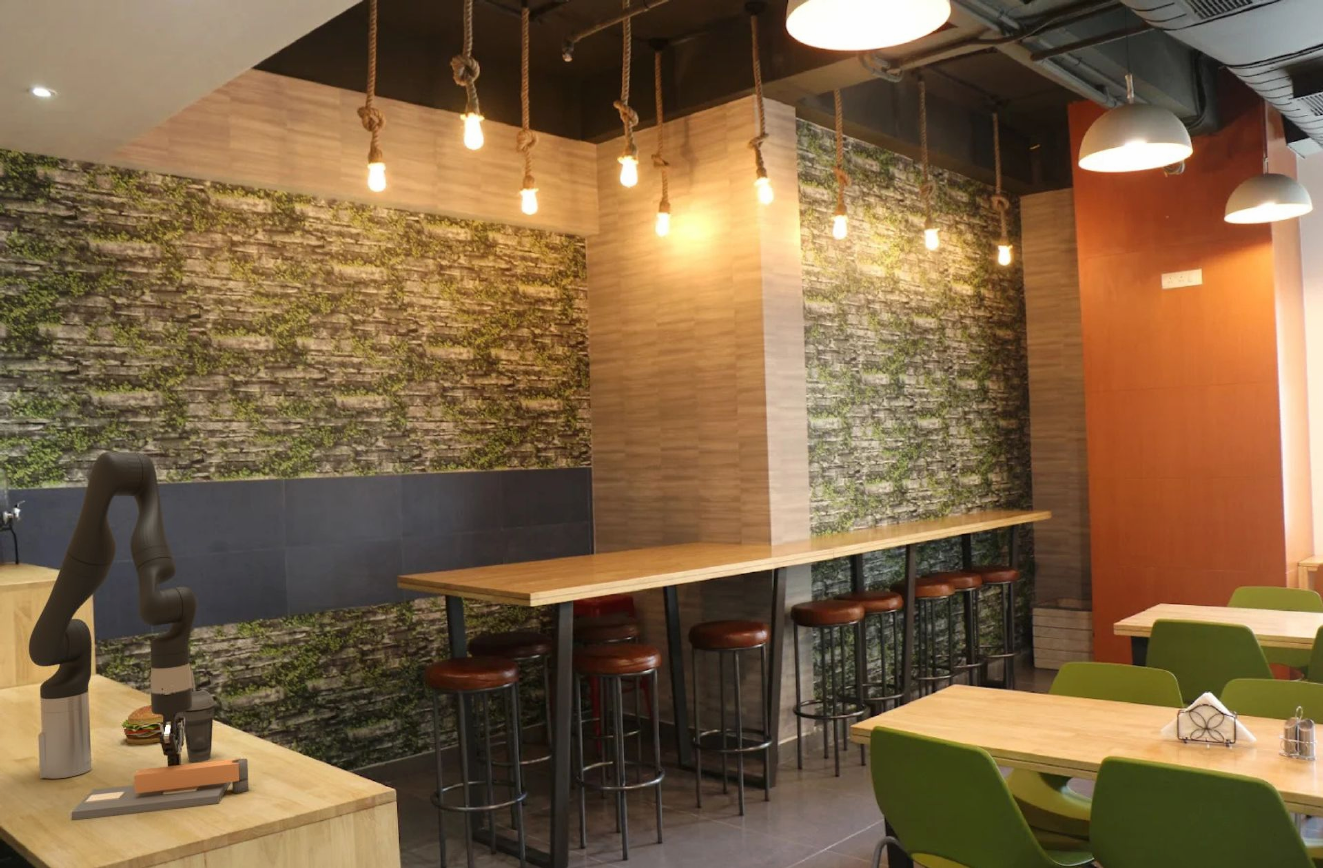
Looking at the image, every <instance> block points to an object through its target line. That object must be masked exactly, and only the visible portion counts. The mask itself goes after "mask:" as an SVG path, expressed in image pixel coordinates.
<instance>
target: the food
mask: <svg viewBox="0 0 1323 868" xmlns="http://www.w3.org/2000/svg"><path fill="white" fill-rule="evenodd" d="M127 717H128V718H126V719H125V720H124V721H123V722H122V724H121V727H122V729H123V733H124V736H126V742H127V743H129V744H131V745H132V744H134V745H148V744H156V743H160V739H159V736H160V735H161V734H162V732H161V731H160V723H161V722H163V716H162V715H160V714H159V715H157V714H154V713H152V710H151V704H150V705H146V706H142V707H139V708H136V709H135V710H133V711H132V712H131V713H130V714H129V715H128V716H127Z"/></svg>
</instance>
